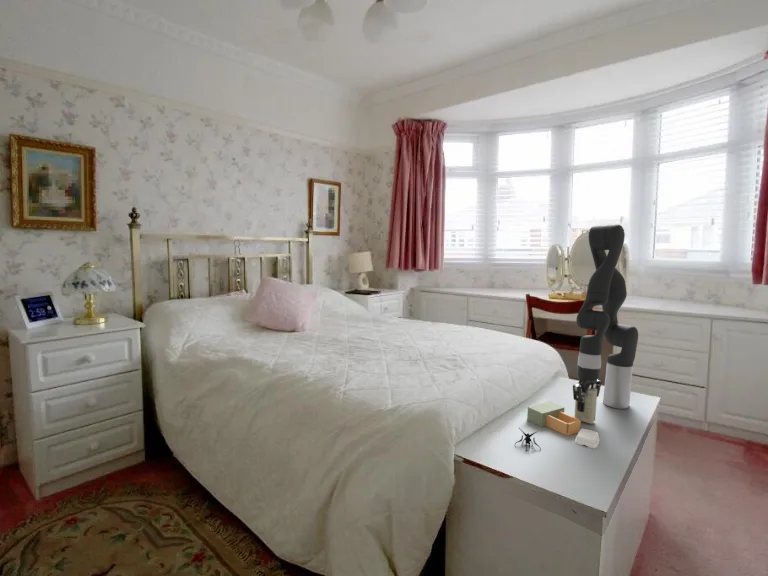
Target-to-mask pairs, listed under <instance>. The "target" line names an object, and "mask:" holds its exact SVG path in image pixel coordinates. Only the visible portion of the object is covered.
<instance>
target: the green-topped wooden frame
mask: <svg viewBox="0 0 768 576" xmlns="http://www.w3.org/2000/svg"><path fill="white" fill-rule="evenodd" d="M526 417H527V418H526V421H528V422H530V423H532V424H534V425H536V426H539V427H540V428H543V427H548V428H550V429H553V430H554V431H557V432H558V433H561V434H562V435H565V436H567V437H568V436H570V435H574V434H578V433H579V431H580V430H581V429H582V421H581V420H579V419H577V418H575V416H572V415H570V414H567V413H565V407H564V406H562V405H559V404H557V403H555V402H552V401H545V402H543V403H539V404H535V405H530V406H528V407H527V415H526Z"/></svg>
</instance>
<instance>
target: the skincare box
mask: <svg viewBox="0 0 768 576" xmlns="http://www.w3.org/2000/svg"><path fill="white" fill-rule="evenodd" d="M581 393H583V394H585V392H583V391H581ZM581 396H582V397H583V395H581ZM597 398H598V397H597V389H590V390H589V391H588V396H587V397H586V398H585V401H584V402H585V404H584V412H580V411H578V410H577V404H578V401H577V400H575V404H574V405H575V406H574V417H575V418H577V419H579V420H581V422H584V423H588V424H593V423H594V422H595V421H596V413H597Z"/></svg>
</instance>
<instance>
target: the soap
mask: <svg viewBox="0 0 768 576" xmlns="http://www.w3.org/2000/svg"><path fill="white" fill-rule="evenodd" d="M574 443H575V444H577V445H580V446H587V448H591V449H597V448H598V446H599V445H600V436H599V433H598V432H597V431H594V430H591V429H586V428H581V430H580V431H579V432H577V435H575V440H574Z"/></svg>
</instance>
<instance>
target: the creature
mask: <svg viewBox="0 0 768 576" xmlns="http://www.w3.org/2000/svg"><path fill="white" fill-rule="evenodd" d="M518 429H519V431H521V433H522V434H523V435H521V439H519V440H518V441H515V443H514V447H515V448H516V447H517V446H516V444H517V443H520V442H521V445H520V446H522V444H524V441H525V451H526V452H528V450H527V449H530V448H531V447H533V448H531V449H532V450H534V451H536V449H535V448H534V445H536V446H537V447H538V448H539V450H538V452H541V451H542V449H541V447H540V445H538V444H537V443H536V440H535V439H536V438H535V437H533V436H534V434H537V432H539V430H538V431H535V432H532V433H531V434H530V433H529V432H528V433H525V431H523V430H522V429H521V428H520V427H518ZM524 436H525V437H524ZM532 437H533V439H531V438H532ZM532 440H533V442H532ZM531 449H530V450H531Z"/></svg>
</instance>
